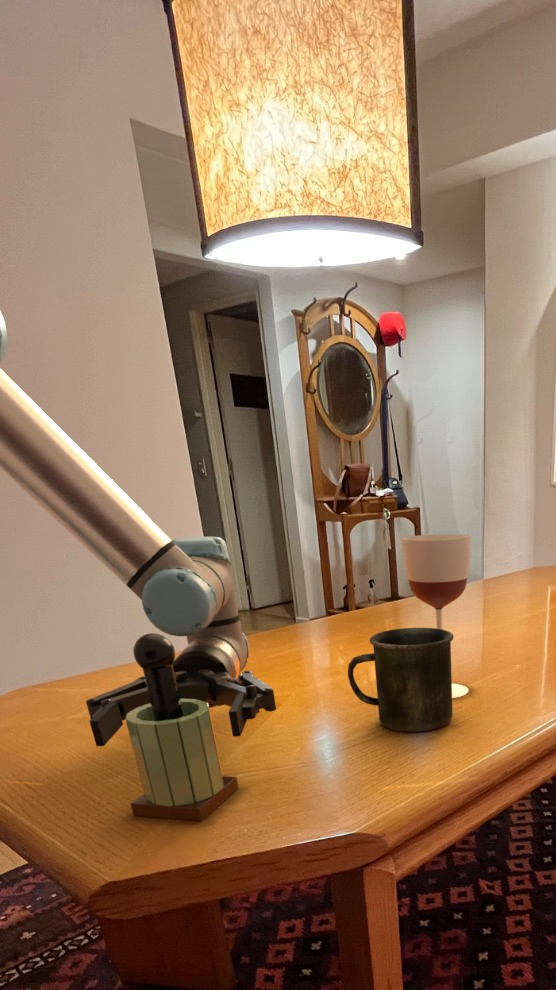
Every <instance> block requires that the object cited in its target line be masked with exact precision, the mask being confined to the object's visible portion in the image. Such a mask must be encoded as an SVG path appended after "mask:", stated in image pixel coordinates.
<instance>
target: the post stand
mask: <svg viewBox="0 0 556 990" xmlns="http://www.w3.org/2000/svg"><path fill="white" fill-rule="evenodd" d="M132 651H133V657H134V660H135V661H136V663H137V665H138V666H139V667H140V668H142V672H143V676H144V677H145V681H146V685H147V689H148V694H149V698H150V702H151V706H152V711H153V715H154V719H155V721H164V720H172V719H178V718H181V717H184V716H183V712H182V707H181V702H180V698H179V693H178V688H177V684H176V679H175V674H174V670H173V665H172V664H173V662H174V661H175V659H176V649H175V646H174V645H173V643H172V642H171V641H170V639H169V638H167V637H166V636H164V635H162V634H159V633H152V632H151V633H146V634H143V635H141V636H140V637H138V639H137V640H136V641H135V643H134V645H133V650H132ZM223 780H224V787H223V789H221V790H220V791H219V792H218V793H217V794H216V795H212V797H210V798H207V799H204V800H202V801H199V802H195V801H194V803H193V804H186V805H180V806H175V805H174V806H162V805H156V804H153V803H151V802H150V801H148V800H147V799H146V798H145V794H144V793H143V794H141V795H140V796H139V797H137V798H136V799H135V800H133V801H132V802H130V807H131V811H132V814H133V816H134V817H145V818H154V819H155V818H156V819H167V820H179V821H180V820H181V821H192V822H203V821H204V820H205V819H206V818H208V816H209V815H210V814H212V813H214V811H215V810H216V809H217V808H218V807H219V806H221V805H222V804H223V803H225V802H226V800H228V799H229V798H230V797H231V796H232V795H233V794H234V793H236V791H238V790H239V784H238V778H237V776H228V775H227V776H226V775H223Z"/></svg>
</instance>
